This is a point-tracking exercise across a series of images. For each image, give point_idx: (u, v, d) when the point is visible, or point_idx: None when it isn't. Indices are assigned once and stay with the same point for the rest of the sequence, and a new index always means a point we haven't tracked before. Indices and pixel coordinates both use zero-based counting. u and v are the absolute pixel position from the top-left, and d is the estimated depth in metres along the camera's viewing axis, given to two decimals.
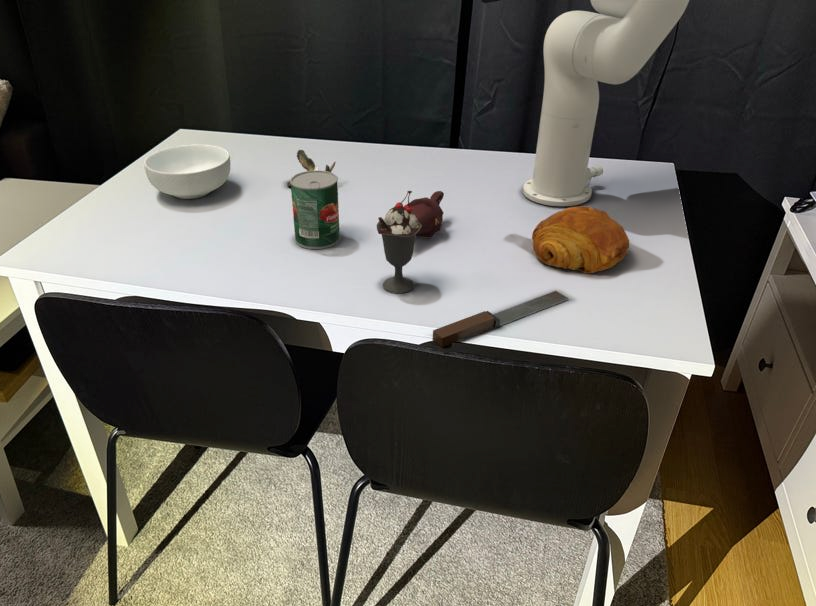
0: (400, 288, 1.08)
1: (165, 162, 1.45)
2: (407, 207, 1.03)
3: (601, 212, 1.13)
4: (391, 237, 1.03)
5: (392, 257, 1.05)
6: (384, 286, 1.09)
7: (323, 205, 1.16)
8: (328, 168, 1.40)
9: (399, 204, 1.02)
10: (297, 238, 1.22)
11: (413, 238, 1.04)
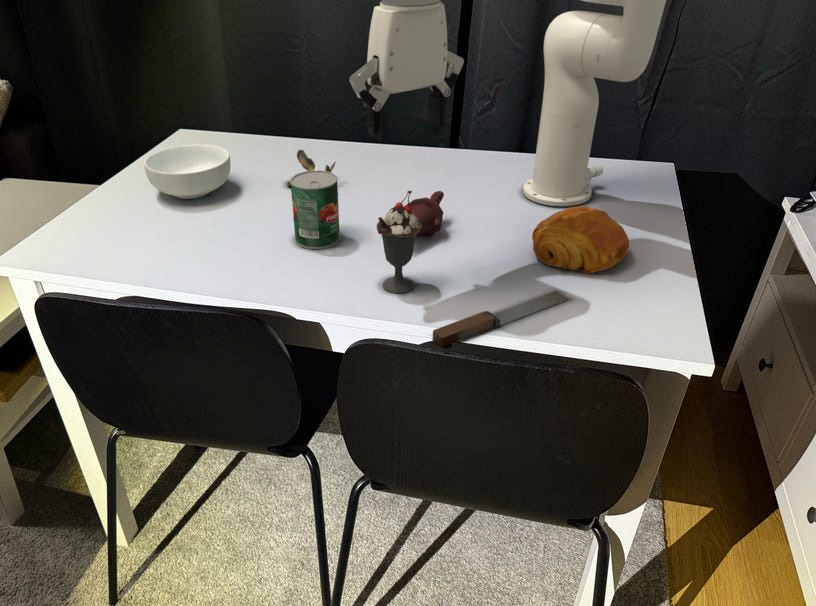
0: (400, 288, 1.08)
1: (165, 162, 1.45)
2: (407, 207, 1.03)
3: (601, 212, 1.13)
4: (391, 237, 1.03)
5: (392, 257, 1.05)
6: (384, 286, 1.09)
7: (323, 205, 1.16)
8: (328, 168, 1.40)
9: (399, 204, 1.02)
10: (297, 238, 1.22)
11: (413, 238, 1.04)
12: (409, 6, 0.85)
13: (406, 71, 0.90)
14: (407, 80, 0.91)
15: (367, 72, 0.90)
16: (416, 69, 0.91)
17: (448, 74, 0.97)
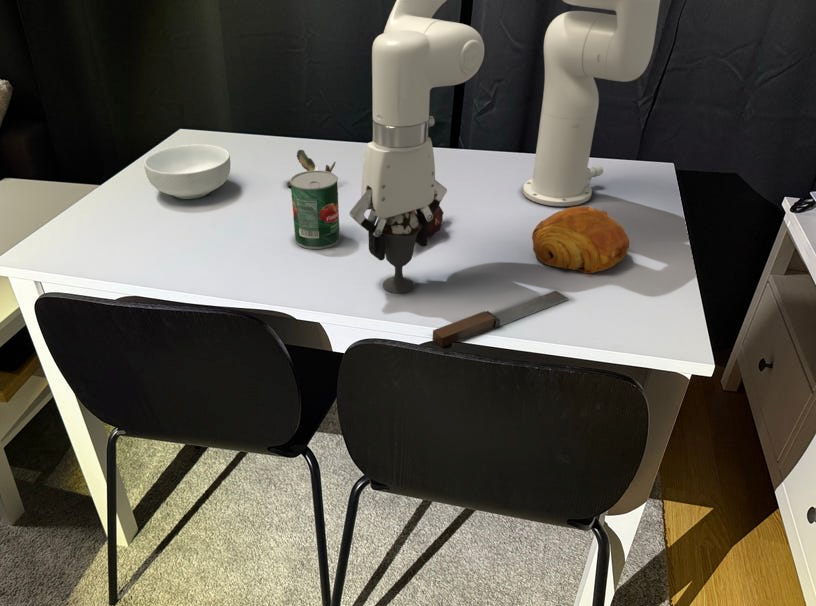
0: (400, 288, 1.08)
1: (165, 162, 1.45)
2: None
3: (601, 212, 1.13)
4: (391, 237, 1.03)
5: (392, 257, 1.05)
6: (384, 286, 1.09)
7: (323, 205, 1.16)
8: (328, 168, 1.40)
9: None
10: (297, 238, 1.22)
11: (413, 238, 1.04)
12: (399, 147, 0.94)
13: (397, 200, 0.99)
14: (398, 206, 0.99)
15: (364, 205, 0.98)
16: (406, 197, 0.99)
17: None
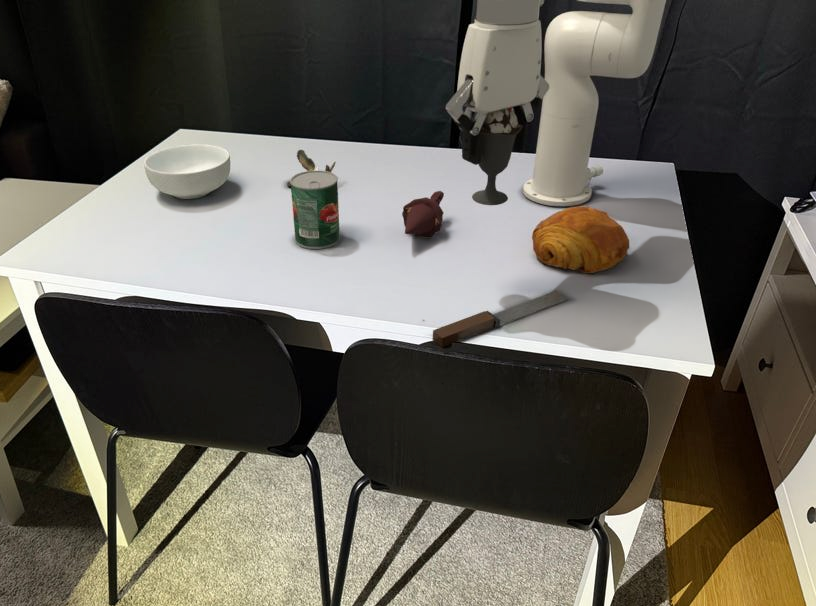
0: (493, 200, 0.97)
1: (165, 162, 1.45)
2: None
3: (601, 212, 1.13)
4: (489, 137, 0.92)
5: (488, 162, 0.94)
6: (475, 199, 0.98)
7: (323, 205, 1.16)
8: (328, 168, 1.40)
9: None
10: (297, 238, 1.22)
11: (513, 139, 0.93)
12: (509, 25, 0.83)
13: (500, 91, 0.88)
14: (500, 99, 0.88)
15: (463, 97, 0.87)
16: (510, 88, 0.88)
17: None
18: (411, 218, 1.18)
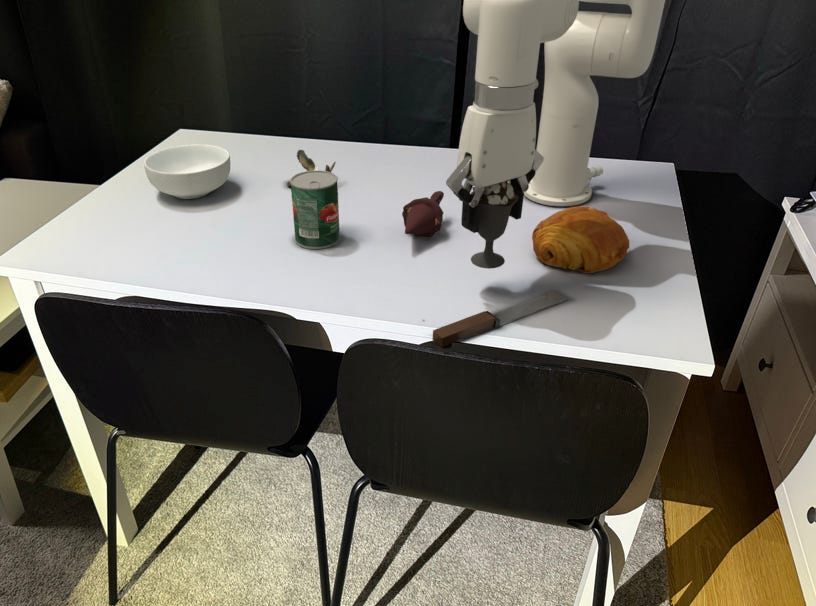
0: (491, 263, 1.03)
1: (165, 162, 1.45)
2: None
3: (601, 212, 1.13)
4: (487, 208, 0.97)
5: (486, 229, 1.00)
6: (473, 261, 1.04)
7: (323, 205, 1.16)
8: (328, 168, 1.40)
9: None
10: (297, 238, 1.22)
11: (509, 209, 0.98)
12: (505, 110, 0.88)
13: (497, 167, 0.93)
14: (497, 175, 0.94)
15: (462, 173, 0.93)
16: (506, 164, 0.94)
17: None
18: (411, 218, 1.18)
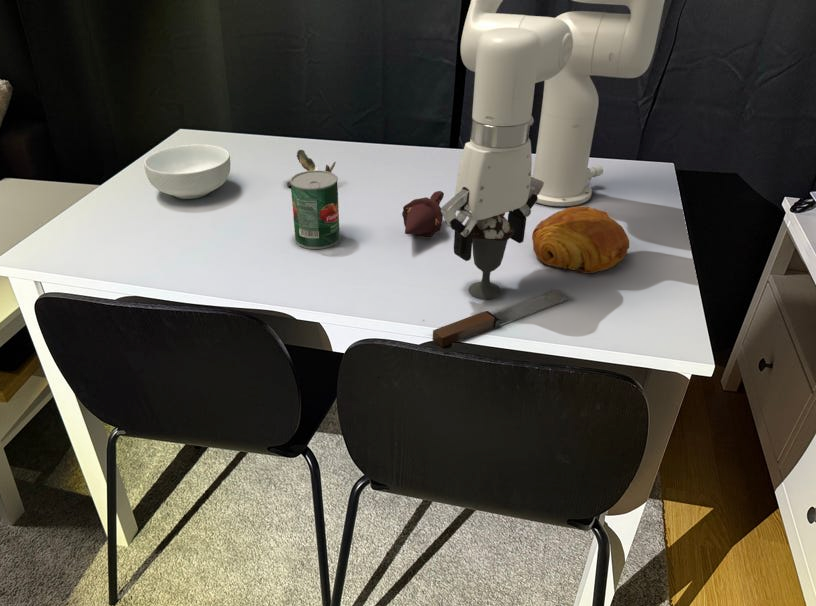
0: (488, 293, 1.06)
1: (165, 162, 1.45)
2: None
3: (601, 212, 1.13)
4: (484, 242, 1.00)
5: (482, 262, 1.03)
6: (471, 292, 1.07)
7: (323, 205, 1.16)
8: (328, 168, 1.40)
9: None
10: (297, 238, 1.22)
11: (505, 243, 1.01)
12: (501, 148, 0.91)
13: (493, 201, 0.96)
14: (494, 208, 0.97)
15: (457, 203, 0.95)
16: (503, 198, 0.97)
17: (528, 195, 1.02)
18: (411, 218, 1.18)
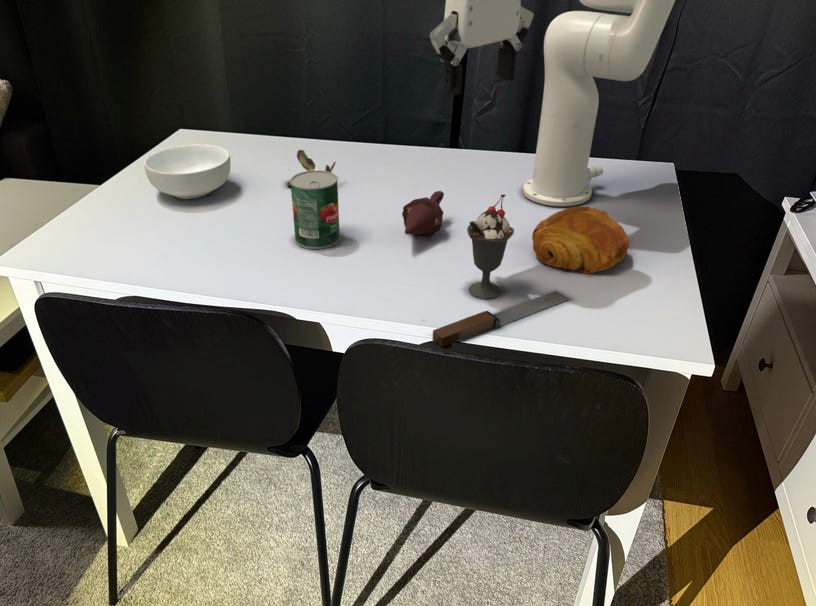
0: (488, 293, 1.06)
1: (165, 162, 1.45)
2: (500, 211, 1.00)
3: (601, 212, 1.13)
4: (484, 242, 1.00)
5: (482, 262, 1.03)
6: (471, 292, 1.07)
7: (323, 205, 1.16)
8: (328, 168, 1.40)
9: (492, 208, 1.00)
10: (297, 238, 1.22)
11: (505, 243, 1.01)
12: None
13: (483, 26, 0.94)
14: (484, 34, 0.95)
15: (447, 27, 0.94)
16: (492, 23, 0.95)
17: (518, 29, 1.00)
18: (411, 218, 1.18)
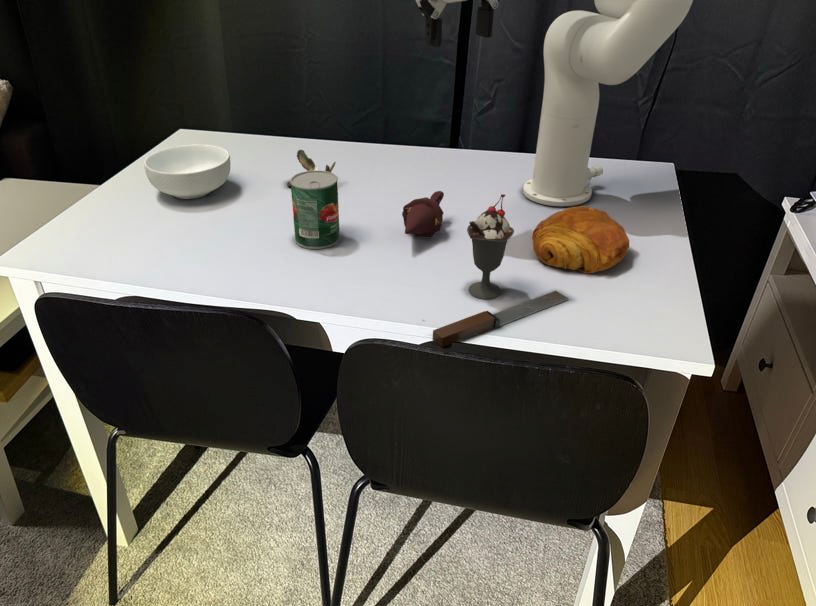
0: (488, 293, 1.06)
1: (165, 162, 1.45)
2: (500, 211, 1.00)
3: (601, 212, 1.13)
4: (484, 242, 1.00)
5: (482, 262, 1.03)
6: (471, 292, 1.07)
7: (323, 205, 1.16)
8: (328, 168, 1.40)
9: (492, 208, 1.00)
10: (297, 238, 1.22)
11: (505, 243, 1.01)
12: None
13: None
14: None
15: None
16: None
17: None
18: (411, 218, 1.18)
